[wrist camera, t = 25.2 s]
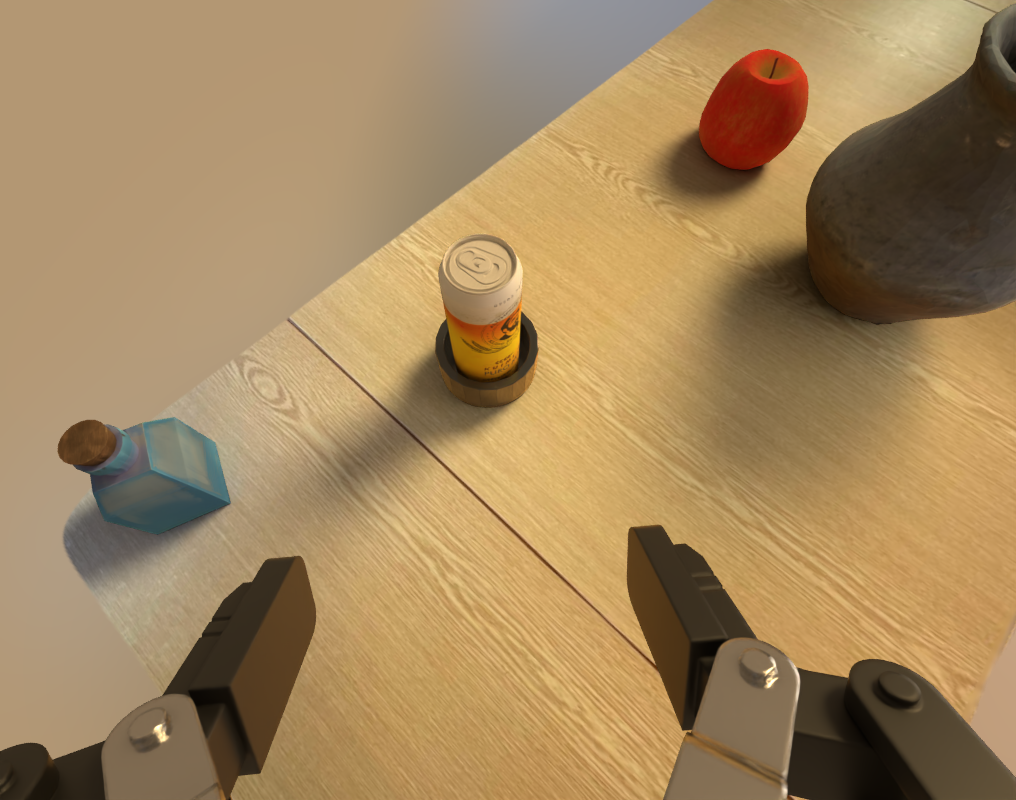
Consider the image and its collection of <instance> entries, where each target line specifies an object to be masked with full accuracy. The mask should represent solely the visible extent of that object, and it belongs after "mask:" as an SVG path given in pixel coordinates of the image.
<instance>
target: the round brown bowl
mask: <svg viewBox="0 0 1016 800" xmlns="http://www.w3.org/2000/svg"><path fill="white" fill-rule="evenodd" d="M538 350H539V347H538V336H537V333H536V330H535V328H534V326H533V324H532V322H531V321H530V320H529V319H528V318H527V317H526V316H525V315H524V313H523V312H521V321H520V342H519V362H518V367H517V370H516V372H515V373H514V374H512V375H511V376H510V377H508V378H505V379H502V380H499V381H496V382H478V381H475V380H471V379H467V378H465V377H464V376H462V375H461V374H459V373H458V371H457V369H456V365H455V360H454V355H453V350H452V345H451V339H450V334H449V329H448V324H447V319H446V320H445V321H444V322H443V323H442V325H441V326H440V329H439V331H438V334H437V336H436V349H435V352H436V356H437V360H438V364H439V368H440V371H441V374H442V378H443V380H444V383H445V384H446V386H447V388H448V389H449V390H450V392H451V393H452V394H453V395H454V396H456V397H457V398H458V399H460V400H461V401H463V402H465V403H467V404H470V405H473V406H477V407H485V408H491V407H498V406H502V405H505V404H508V403H510V402H512V401H514V400H516V399H517V398H519V397H520V396H521V395H522V394H523V393H524V392H525V391H526V390H527V389H528V388H529V386H530V384H531V383H532V381H533V378H534V375H535V370H536V367H537V359H538Z"/></svg>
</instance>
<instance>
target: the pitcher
mask: <svg viewBox="0 0 1016 800" xmlns="http://www.w3.org/2000/svg"><path fill="white" fill-rule="evenodd" d="M806 232H807V251H808V258H809V268H810V271H811V275H812V279H813V281H814V283H815V285H816V287H817V288H818V290H819V291H820V293H821V294H822V296H823V297H824V299H825V300H826V301H827V302H828V303H829V304H830V305H831V306H833V307H834V308H836V309H837V310H839V311H840V312H841V313H843V314H845V315H848V316H851V317H854V318H857V319H861V320H865V321H869V322H872V323H874V324H891V323H894V322H900V321H907V320H916V319H931V318H947V317H959V316H965V315H972V314H978V313H984V312H988V311H991V310H994V309H997V308H1000V307H1003V306H1005V305H1007V304H1009V303H1011V302H1014V301H1016V4H1013V5H1010V6H1008V7H1007V8H1005V9H1003V10H1002V11H1000V12H999V13H997V14H995V15H994V16H993V17H992V18H991V19H990V20H989V21H988V22H987V23H985V25H984V27H983V33H982V35H981V39H980V44H979V47H978V50H977V54H976V59H975V61H974V63H973V65H972V66H971V67H970V68H969V69H968V70H967V71H966V72H965V73H964V74H963V75H961V76H960V77H959V78H957V79H956V80H954V81H953V82H951V83H950V84H948V85H947V86H945V87H944V88H942V89H941V90H940V91H938V92H937V93H935V94H933V95H932V96H930V97H929V98H927V99H925V100H924V101H922V102H920V103H919V104H917V105H916V106H914V107H912V108H911V109H909V110H907V111H905V112H903V113H900V114H898V115H895V116H893V117H890V118H886V119H883V120H880V121H878V122H875V123H873V124H871V125H868V126H866V127H864V128H862V129H860V130H859V131H857V132H855V133H853V134H852V135H850V136H849V137H848V138H847V139H845V140H844V141H843V142H842V143H841V144H840V145H839V146H838V147H837V148H836V149H835V150H834V151H833V152H832V153H831V154H830V155H829V156H828V157H827V158H826V160H825V161H824V163H823V164H822V165H821V167H820V168H819V170H818V172H817V174H816V176H815V178H814V180H813V182H812V185H811V188H810V191H809V194H808V197H807V203H806Z"/></svg>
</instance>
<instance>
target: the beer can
mask: <svg viewBox="0 0 1016 800" xmlns="http://www.w3.org/2000/svg"><path fill="white" fill-rule="evenodd" d="M438 277H439V283H440V288H441V293H442V298H443V303H444V309H445V314H446V319H447V324H448V329H449V334H450V339H451V345H452V350H453V355H454V360H455V365H456V369H457V371H458V373H459V374H461V375H462V376H464V377H465V378H467V379H471V380H475V381H478V382H496V381H499V380H502V379H505V378H508V377H510V376H511V375H512V374H514V373H515V372H516V370H517V367H518V362H519V342H520V321H521V300H522V279H523V270H522V265H521V262H520V260H519V258H518V257H517V256H516V253H515V251H514V249H513V248H512V247H511V246H510V244H509V243H507V242H506V241H505V240H503V239H501V238H500V237H497V236H494V235H491V234H484V233H477V234H470V235H467V236H464V237H462V238H459V239H458V240H456V241H455V242H453V243H452V244H451V245H450V246H449V247H448V249H447V250H446V252H445V254H444V257H443V260H442V262H441V264H440V267H439V273H438Z"/></svg>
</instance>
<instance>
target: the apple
mask: <svg viewBox="0 0 1016 800" xmlns="http://www.w3.org/2000/svg"><path fill="white" fill-rule="evenodd" d="M807 105H808V81H807V76H806V74H805V72H804V71H803V69H802V67H801V66H800V64H799V63H798V62H797V61H796V60H794V59H793V58H791V57H790V56H788V55H786V54H783V53H781V52H779V51H775V50H770V49H765V50H758V51H755V52H752V53H750V54H748V55H747V56H745V57H743V58H742V59H740V60H739V61H738V62H736V63H735V64H734V65H733V66H732V67H731V68H730V69H729V70H728V71H727V72H726V73H725V75H724V76H723V77H722V78H721V80H720V81H719V83H718V85H717V86H716V88H715V90H714V91H713V93H712V95H711V96H710V98H709V100H708V102H707V105H706V107H705V109H704V111H703V113H702V116H701V120H700V125H699V138H700V140H701V143H702V146H703V148H704V149H705V151H706V153H707V154H708V156H710V157H711V158H712V159H714V160H715V161H716V162H718V163H719V164H721V165H724V166H726V167H728V168H731V169H744V170H748V169H751V168H754V167H757V166H760V165H763V164H765V163H767V162H770V161H771V160H772V159H773V158H775V157H776V156H777V155H778V154H779V153H780V152H782V151H783V150H784V149H785V148H786V147H787V146H788V145H789V143H790V142H791V141H792V139H793V138H794V137H795V136H796V134H797V133H798V132H799V130H800V129H801V127H802V125H803V122H804V120H805V117H806V111H807Z"/></svg>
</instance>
